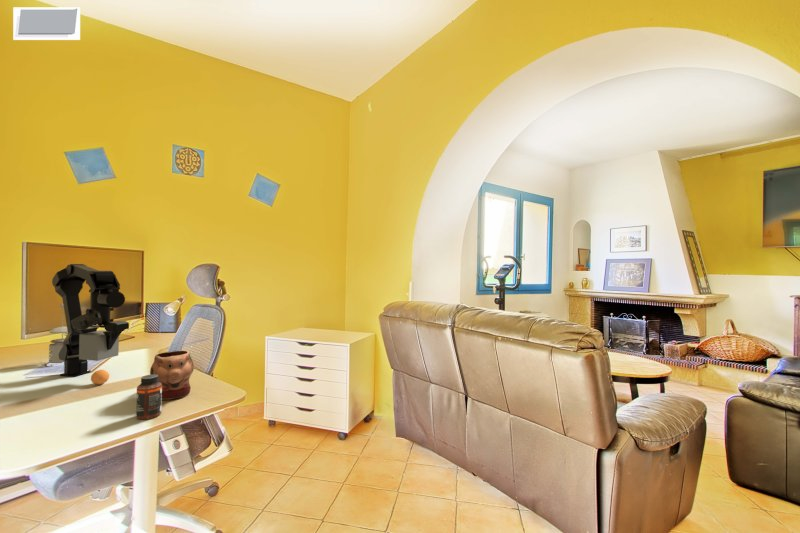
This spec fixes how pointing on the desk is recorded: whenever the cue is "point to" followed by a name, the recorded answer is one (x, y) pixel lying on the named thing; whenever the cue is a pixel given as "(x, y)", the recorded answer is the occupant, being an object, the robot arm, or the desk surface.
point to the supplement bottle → (149, 397)
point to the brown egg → (100, 377)
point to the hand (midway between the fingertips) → (99, 348)
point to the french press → (57, 343)
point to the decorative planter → (173, 373)
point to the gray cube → (96, 346)
